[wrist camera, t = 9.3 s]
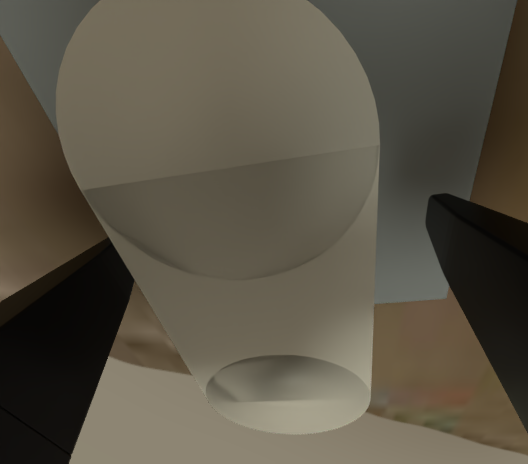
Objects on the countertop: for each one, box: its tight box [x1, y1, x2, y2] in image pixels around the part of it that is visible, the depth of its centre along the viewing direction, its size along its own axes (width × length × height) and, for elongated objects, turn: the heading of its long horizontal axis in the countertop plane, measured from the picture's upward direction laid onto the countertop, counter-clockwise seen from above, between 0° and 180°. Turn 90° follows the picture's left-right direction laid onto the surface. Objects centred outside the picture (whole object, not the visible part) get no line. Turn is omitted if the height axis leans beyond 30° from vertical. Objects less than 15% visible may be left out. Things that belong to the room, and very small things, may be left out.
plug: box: [56, 0, 380, 434], centre depth 10 cm, size 4×14×6 cm, turn 10°
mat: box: [0, 0, 517, 304], centre depth 11 cm, size 14×14×1 cm
